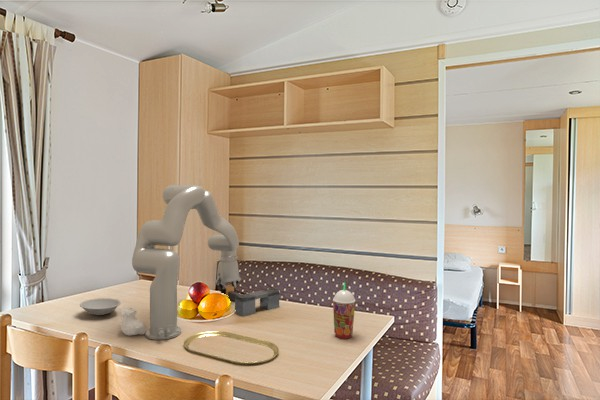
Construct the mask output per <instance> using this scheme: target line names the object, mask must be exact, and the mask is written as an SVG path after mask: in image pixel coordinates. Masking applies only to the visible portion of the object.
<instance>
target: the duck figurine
mask: <svg viewBox="0 0 600 400" xmlns="http://www.w3.org/2000/svg"><path fill="white" fill-rule="evenodd" d="M137 312H138V311H137V310H135V309H132V307H129V306H127V307H124V308H123V309H122V310H121V317H122V318H121V321H120V322H119V324H120V327H121V328H120V329H121V331H122V334H124V335H126V336H130V337H131V336H136V335H137V336H139V335H145V332H146V325H145V323H144V322H143V321H142V320H140V319H139V318H137V317H136V316H135V315H136V314H137ZM138 334H139V335H138Z"/></svg>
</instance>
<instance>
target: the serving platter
mask: <svg viewBox="0 0 600 400" xmlns="http://www.w3.org/2000/svg"><path fill="white" fill-rule="evenodd" d="M205 336H206V337H217V336H218V337H225V338H229V339H234V340H237V341H242V342H246V343H247V342H248V343H251V344H255V345H260V346H265V347H266V348H269V349H271V350H272V351H273V354H272V357H270V358H267V359H263V360H259V361H250V362H249V361H248V362H246V361H237V360H233V359H232V360H231V359H229V358H225V357H221V356H217V355H214V354H209V353H205V352H203V351H197V350H193V349H191V348H190V347H189V346H190V344H191V342H193V341H195V340H198V339H200V338H201V339H202V338H204V337H205ZM197 338H198V339H197ZM183 345H184V346H183V347H185V349H186V350H188V352H191V353H194V354H197V355H201V356H205V357H208V358H213V359H216V360H221V361H225V362H227V363H231V364H236V365H241V366H255V365H261V364H264V363H267V362H269V361H271V360H274V359H275V358H276V357H277V355H278V354H279V353H280V352H279V351H280V350H279V347H278V345H277V344H275V343H273V342H271V341H268V340H263V339H259V338H254V337H251V336H247V335H241V334H237V333H232V332H229V331H228V332H227V331H221V330H219V331H217V330H215V331H205V332H204V331H203V332H199V333H195V334H193V335H190V336H188V337H187V338H186V339H185V340H184V342H183Z"/></svg>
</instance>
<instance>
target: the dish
mask: <svg viewBox="0 0 600 400" xmlns="http://www.w3.org/2000/svg"><path fill="white" fill-rule="evenodd" d="M121 303H122V302H121V301H120V300H119V299H116V298H107V297H105V298H102V297H100V298H92V299H87V300H84V301H82V302H80V303H79V307H80V308H81V309H83V310H84V311H85V312H87V313H88V314H91V315H98V316H103V315H107V314H110V313H112V312H113V311H115V309H117V307H119V306H120V305H121Z"/></svg>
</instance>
